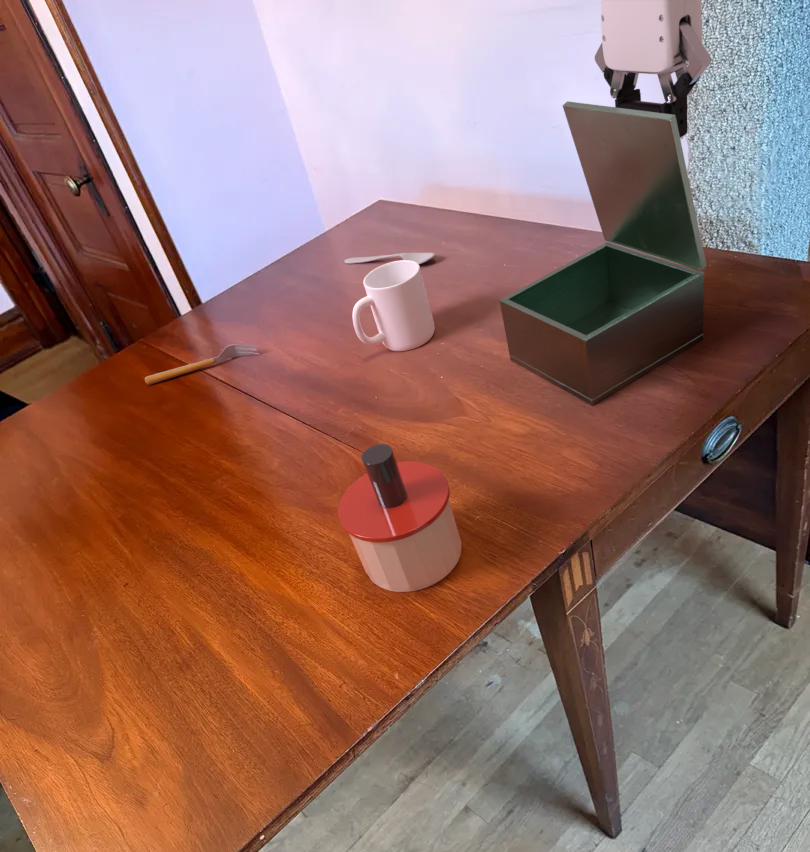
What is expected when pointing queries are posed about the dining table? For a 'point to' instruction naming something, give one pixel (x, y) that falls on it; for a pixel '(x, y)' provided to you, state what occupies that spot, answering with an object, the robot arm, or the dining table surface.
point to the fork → (202, 363)
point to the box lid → (638, 178)
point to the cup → (396, 306)
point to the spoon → (405, 256)
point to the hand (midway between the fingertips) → (651, 134)
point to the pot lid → (392, 497)
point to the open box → (604, 320)
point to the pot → (413, 556)
